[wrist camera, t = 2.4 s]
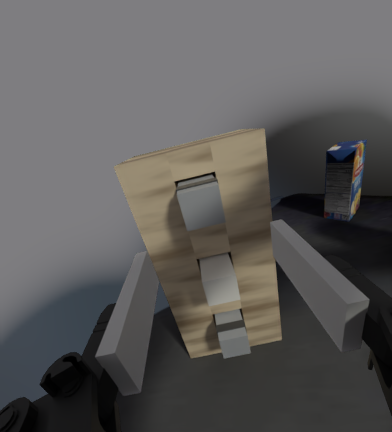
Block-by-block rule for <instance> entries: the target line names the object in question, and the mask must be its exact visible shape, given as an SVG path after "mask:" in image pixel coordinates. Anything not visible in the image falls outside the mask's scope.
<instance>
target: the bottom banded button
mask: <svg viewBox="0 0 392 432" xmlns="http://www.w3.org/2000/svg"><path fill="white" fill-rule="evenodd" d="M215 320H216V325H215V326H216V332H217V336H218V339H219V343H220V346H221V350H222V353H223V357H224V358H229V357H234V356H239V355H244V354H249V353H251V351H250V346H249V341H248V336H247V331H246V326H245V322H244V319H242V316H241V313H240V310H239V309H236V310H232V311H227V312H222V313H218V314H215Z"/></svg>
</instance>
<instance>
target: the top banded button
mask: <svg viewBox="0 0 392 432" xmlns="http://www.w3.org/2000/svg"><path fill="white" fill-rule="evenodd" d="M176 193H177V197H178V201H179V204H180V208H181V211H182V215H183V218H184V221H185V225H186V228H187V231H191V230H195V229H199V228H204V227H208V226H212V225H216V224H221V223H225V222H226V221H225V216H224V210H223V205H222V200H221V195H220V190H219V184H218V180H217V178H216V177H215V178H214V177H213V175H208V176H204V177H200V178H196V179H192V180H188V181H184V182H180V183H178V187H176Z"/></svg>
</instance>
